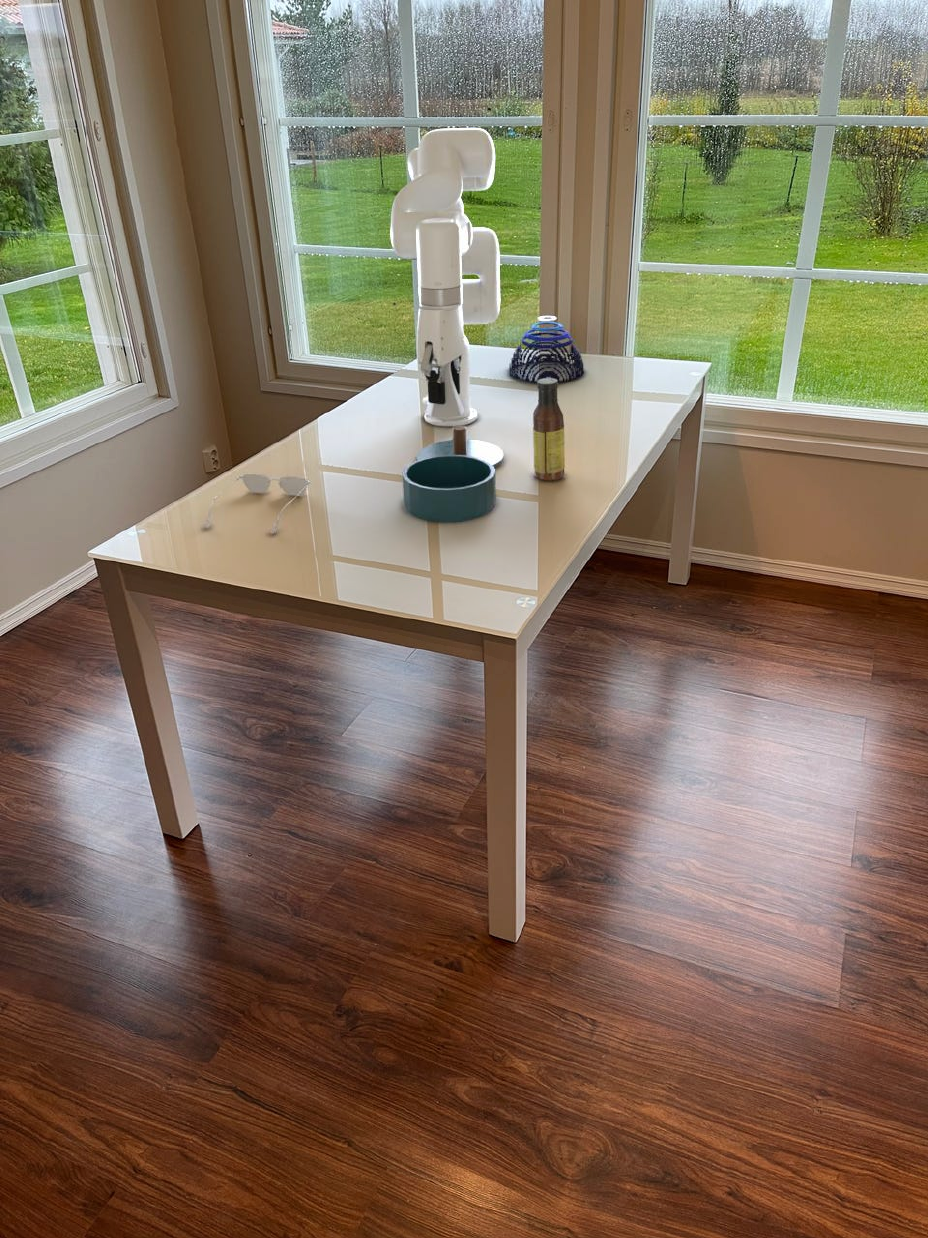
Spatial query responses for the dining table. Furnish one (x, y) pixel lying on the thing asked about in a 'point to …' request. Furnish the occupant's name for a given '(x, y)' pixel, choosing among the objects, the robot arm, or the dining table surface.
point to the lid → (463, 448)
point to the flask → (447, 398)
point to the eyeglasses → (262, 483)
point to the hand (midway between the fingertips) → (444, 397)
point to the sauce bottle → (548, 432)
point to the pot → (449, 488)
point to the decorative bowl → (576, 356)
